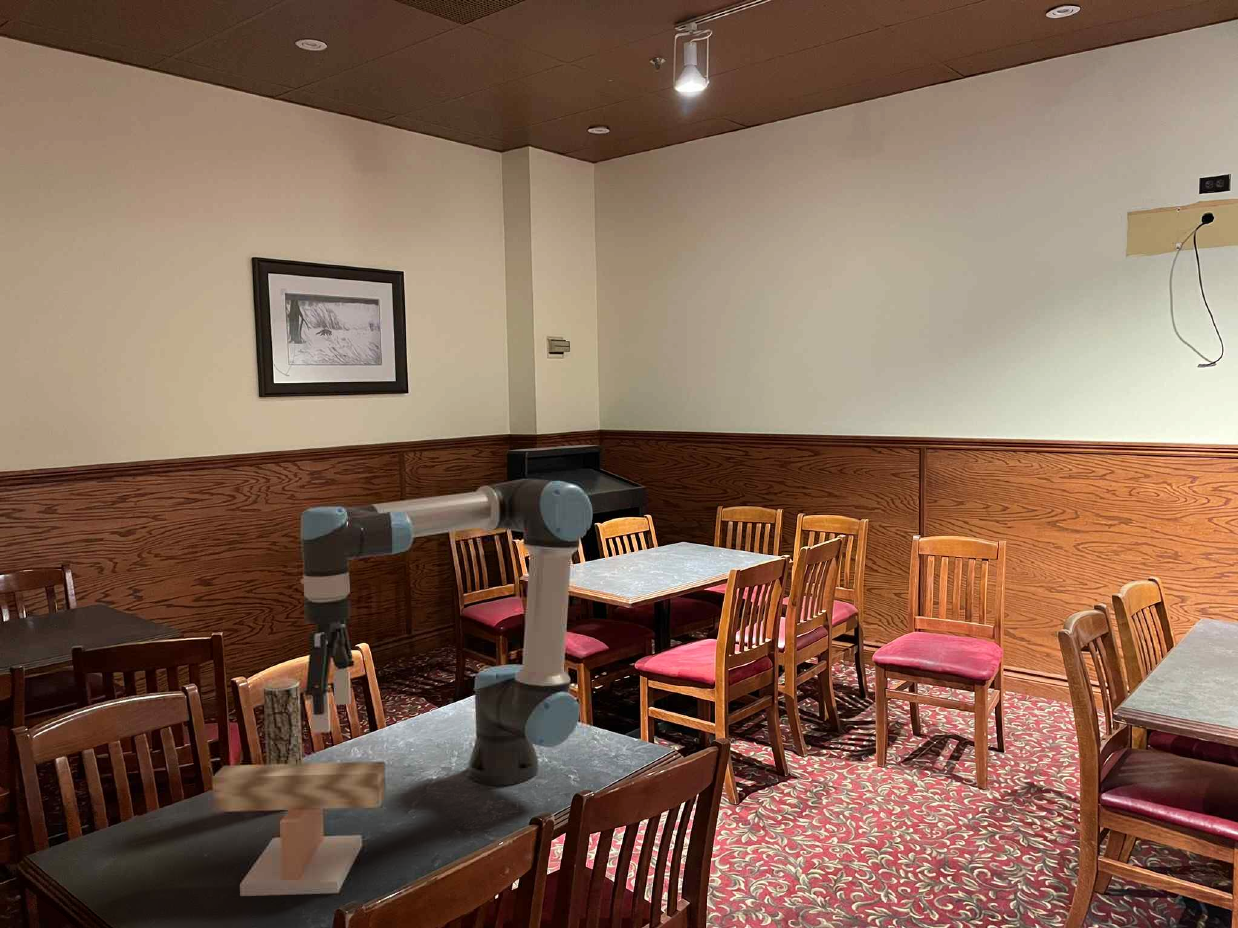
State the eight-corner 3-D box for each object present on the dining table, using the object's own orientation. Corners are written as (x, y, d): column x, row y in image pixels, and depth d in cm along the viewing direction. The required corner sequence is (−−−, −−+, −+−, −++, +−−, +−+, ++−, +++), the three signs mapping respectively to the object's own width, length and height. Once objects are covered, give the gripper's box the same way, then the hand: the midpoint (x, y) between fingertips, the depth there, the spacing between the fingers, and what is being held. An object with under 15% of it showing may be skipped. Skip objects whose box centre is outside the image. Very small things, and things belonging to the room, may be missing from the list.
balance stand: (361, 845, 167) (359, 782, 166) (337, 892, 151) (335, 822, 150) (273, 848, 166) (271, 784, 166) (240, 895, 151) (237, 825, 150)
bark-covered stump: (292, 811, 181) (287, 688, 179) (261, 808, 183) (256, 687, 181) (310, 796, 188) (305, 678, 186) (280, 794, 189) (275, 676, 187)
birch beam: (385, 794, 161) (384, 761, 160) (379, 807, 156) (378, 772, 155) (225, 798, 160) (223, 765, 159) (213, 811, 155) (212, 777, 154)
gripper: (325, 582, 169) (330, 694, 171) (281, 615, 144) (287, 745, 146) (366, 581, 169) (370, 692, 171) (329, 613, 144) (335, 743, 146)
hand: (332, 717), depth 158 cm, fingers open, 13 cm apart
